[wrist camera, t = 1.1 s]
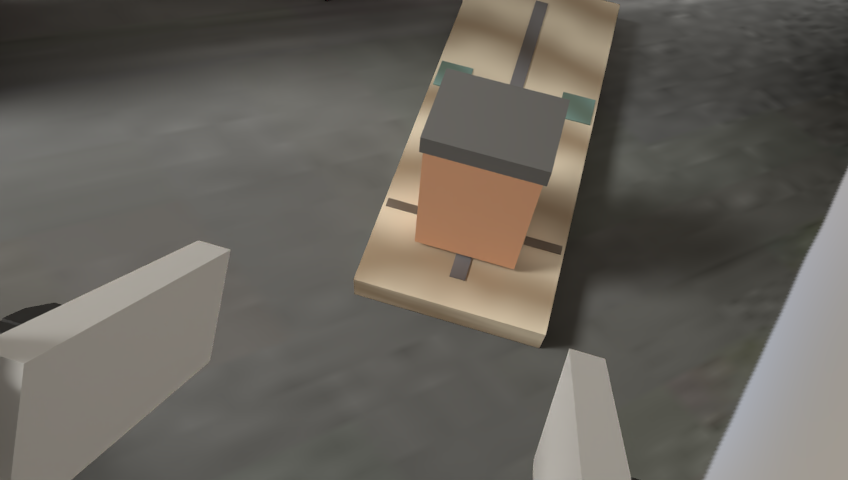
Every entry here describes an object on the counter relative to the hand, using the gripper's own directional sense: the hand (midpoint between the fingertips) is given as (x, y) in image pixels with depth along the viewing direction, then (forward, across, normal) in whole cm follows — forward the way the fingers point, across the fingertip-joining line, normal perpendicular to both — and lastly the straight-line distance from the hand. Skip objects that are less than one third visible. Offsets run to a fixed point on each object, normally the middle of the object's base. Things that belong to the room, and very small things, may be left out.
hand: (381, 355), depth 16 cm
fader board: (+39, 0, +1) cm, 39 cm away
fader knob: (+31, 0, -3) cm, 31 cm away
